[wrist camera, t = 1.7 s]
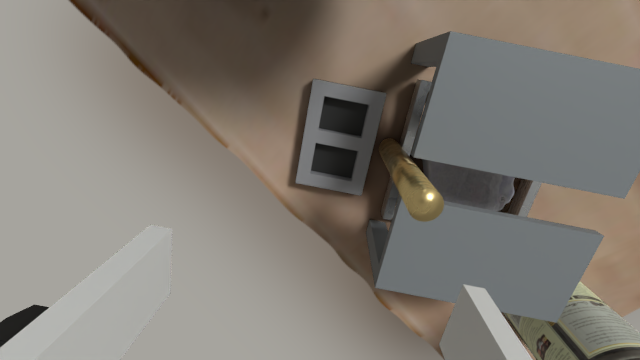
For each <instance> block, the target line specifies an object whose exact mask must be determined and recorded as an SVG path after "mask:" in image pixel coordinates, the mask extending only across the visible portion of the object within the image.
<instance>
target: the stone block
mask: <svg viewBox="0 0 640 360" xmlns="http://www.w3.org/2000/svg"><path fill="white" fill-rule="evenodd" d="M422 161H423V170H424V175H425V176H426V177H427V179H428V180H429V181H430V182H431V183H432V185H433V186H434V187H435V188H436V190H437V191H438V192H439V193H440V194H441V196H442V197H443V200H444V201H446V202H451V203H456V204H461V205H467V206H472V207H477V208H482V209H487V210H492V211H499V210H501V209H503V207H504V205H505V204H506V203H509V202H510V200H511V198H512V197H513V195H514V192H515V190H514V187H513V181H514V179H515V177H512V176H507V175H501V174H496V173H491V172H486V171H481V170H476V169H471V168H466V167H461V166H456V165H450V164H445V163H440V162H435V161H430V160H425V159H422Z"/></svg>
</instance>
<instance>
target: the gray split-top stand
mask: <svg viewBox="0 0 640 360" xmlns="http://www.w3.org/2000/svg"><path fill="white" fill-rule="evenodd" d="M411 63H412V64H417V65H422V66H427V67H436V70H435V73H434V77H433V80H432V84H431V87H430V91H429V94H428V98H427V101H426V104H425V108H424V111H423V115H422V118H421V122H420V125H419V128H418V132H417V135H416V139H415V142H414V146H413V149H412V153H411V155H412V156H413V157H415V158H420V159H425V160H430V161H435V162H440V163H445V164H450V165H456V166H461V167H466V168H471V169H476V170H481V171H486V172H491V173H496V174H501V175H507V176H512V177H517V178H522V179H527V180H532V181H537V182H542V183H547V184H552V185H558V186H563V187H568V188H573V189H578V190H583V191H588V192H593V193H598V194H604V195H609V196H614V197H619V198H624V199H625V197H626V195H627V193H628V191H629V190H630V188H631V186H632V184H633V182H634V181H635V179H636V177H637V175H638V173H639V171H640V69H638V68H633V67H628V66H623V65H617V64H612V63H607V62H602V61H597V60H592V59H587V58H582V57H577V56H572V55H567V54H562V53H557V52H552V51H547V50H542V49H537V48H532V47H527V46H522V45H517V44H512V43H507V42H502V41H497V40H492V39H487V38H482V37H477V36H472V35H467V34H462V33H457V32H452V31H450V32H447V33H444V34H442V35H439V36H436V37H433V38H430V39H427V40H425V41H422V42H419V43H416V46H415V50H414V54H413V58H412V61H411ZM366 236H367V242H368V248H369V254H370V260H371V266H372V272H373V278H374V284H375V288H379V289H384V290H390V291H395V292H400V293H405V294H410V295H415V296H421V297H426V298H431V299H436V300H441V301H447V302H452V303H456V301H457V299H458V296H459V294H460V291H461V289H462V286H463V284H464V285H469V286H475V287H480V288H485V289H486V291H487V292H488V294H489V295H490V297H491V298H492V300H493V301H494V303H495V304H496V306H497V307H498V309H499V310H500V312H504V313H509V314H514V315H519V316H524V317H530V318H535V319H540V320H545V321H550V322H555V323H557V321H558V319H559V317H560V316H561V314H562V312H563V310H564V308H565V307H566V305H567V303H568V301H569V299H570V297H571V296H572V294H573V292H574V290H575V288H576V286H577V285H578V283H579V281H580V279H581V277H582V275H583V274H584V272H585V270H586V268H587V266H588V265H589V263H590V261H591V259H592V257H593V255H594V254H595V252H596V250H597V248H598V246H599V244H600V243H601V241H602V239H603V237H604V236H603V235H602V234H600V233H598V232H597V231H595V230H590V229H584V228H579V227H574V226H569V225H564V224H559V223H554V222H549V221H543V220H538V219H533V218H528V217H523V216H518V215H513V214H508V213H502V212H497V211H492V210H487V209H482V208H477V207H472V206H467V205H461V204H456V203H451V202H446V201H444V208H443V211H442V213H441V214H440V215H439V216H438V217H437V218H435V219H434V220H431V221H427V222H422V221H418V220H416V219H414V218H413V217H412V216H411V215H410V214H409V212H408V210H407V208H406V206H405V204H404V202H403V200H402V198H401V196H400V194H399V197H398V201H397V204H396V208H395V211H394V215H393V218H392V221H391V225H390V228H389V232H388V230H387V227H386V224H385V222H380V221H375V220H369V224H368V228H367V231H366Z"/></svg>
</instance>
